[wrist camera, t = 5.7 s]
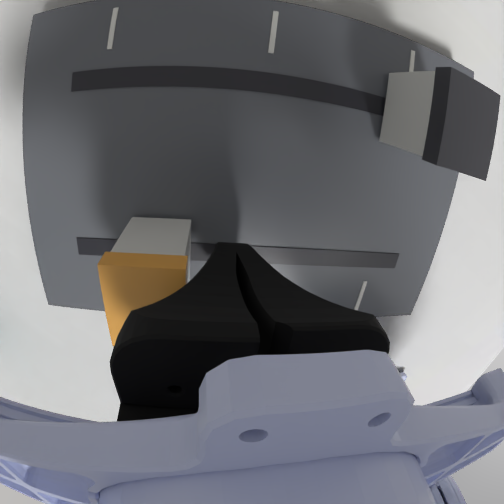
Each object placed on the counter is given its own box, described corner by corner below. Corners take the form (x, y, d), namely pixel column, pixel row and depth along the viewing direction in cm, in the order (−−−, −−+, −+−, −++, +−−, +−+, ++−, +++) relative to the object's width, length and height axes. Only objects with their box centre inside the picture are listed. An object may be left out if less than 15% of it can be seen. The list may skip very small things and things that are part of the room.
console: (399, 300, 18) (410, 315, 16) (59, 288, 15) (48, 305, 13) (455, 71, 11) (474, 71, 10) (49, 20, 8) (33, 14, 7)
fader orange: (192, 286, 13) (186, 351, 10) (134, 283, 13) (112, 346, 9) (194, 217, 12) (185, 269, 8) (129, 214, 12) (97, 264, 8)
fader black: (423, 155, 12) (485, 180, 8) (376, 143, 11) (436, 165, 8) (434, 88, 10) (500, 95, 7) (387, 70, 10) (451, 66, 6)
